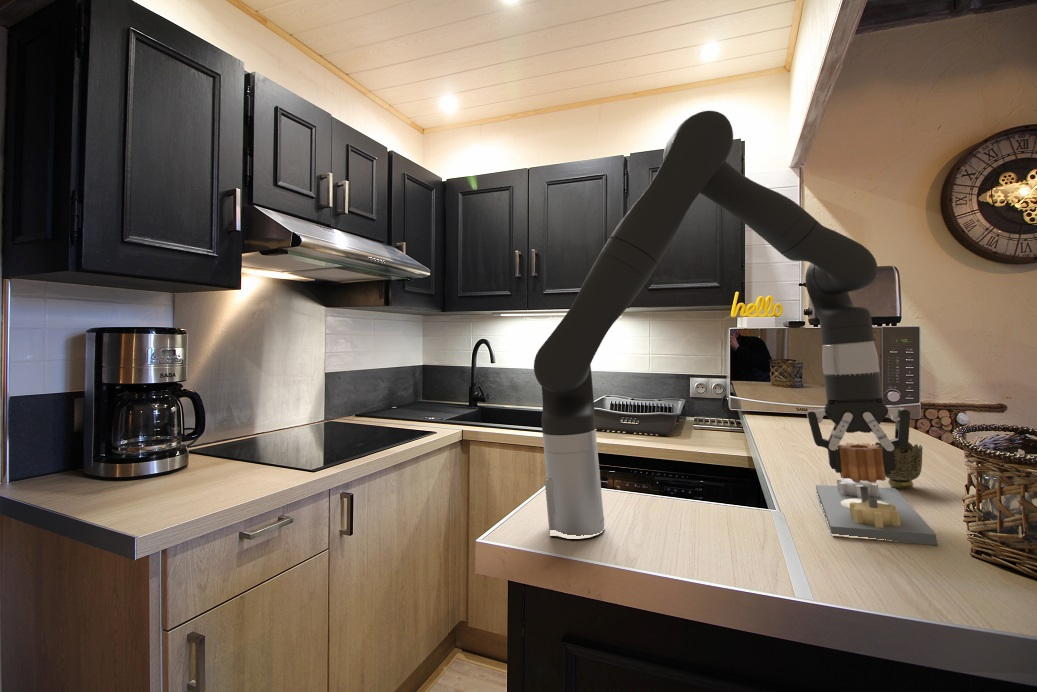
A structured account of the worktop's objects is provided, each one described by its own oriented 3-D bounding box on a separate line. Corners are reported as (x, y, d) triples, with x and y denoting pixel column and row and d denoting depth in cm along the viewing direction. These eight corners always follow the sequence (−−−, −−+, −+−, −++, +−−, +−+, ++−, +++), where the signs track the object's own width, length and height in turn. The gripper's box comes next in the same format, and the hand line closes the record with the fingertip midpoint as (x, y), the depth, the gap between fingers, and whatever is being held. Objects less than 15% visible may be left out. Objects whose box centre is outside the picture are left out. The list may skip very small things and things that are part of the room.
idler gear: (852, 482, 73) (848, 451, 73) (833, 473, 79) (830, 444, 79) (894, 481, 72) (890, 449, 72) (872, 471, 78) (868, 442, 78)
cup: (881, 491, 85) (876, 448, 85) (872, 481, 92) (867, 441, 92) (933, 494, 82) (928, 449, 82) (920, 482, 88) (915, 441, 88)
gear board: (937, 545, 63) (933, 512, 63) (831, 536, 68) (828, 506, 68) (896, 496, 82) (893, 471, 82) (816, 492, 88) (814, 469, 88)
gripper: (801, 374, 76) (812, 476, 75) (912, 368, 69) (926, 480, 69) (798, 372, 82) (808, 465, 82) (899, 366, 76) (911, 468, 75)
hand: (862, 472), depth 75 cm, fingers closed on idler gear, 6 cm apart
